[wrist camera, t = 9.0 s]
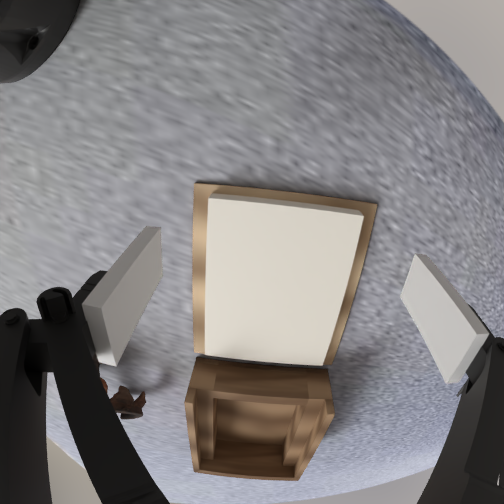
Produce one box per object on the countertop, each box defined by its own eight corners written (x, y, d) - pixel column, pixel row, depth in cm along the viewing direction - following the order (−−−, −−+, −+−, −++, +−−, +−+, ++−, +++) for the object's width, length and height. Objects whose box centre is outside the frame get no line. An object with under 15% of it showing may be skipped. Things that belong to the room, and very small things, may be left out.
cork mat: (194, 182, 24) (194, 183, 24) (376, 203, 24) (377, 204, 24) (194, 350, 32) (194, 352, 32) (331, 362, 32) (331, 364, 32)
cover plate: (211, 193, 24) (208, 198, 23) (358, 210, 24) (363, 216, 23) (207, 345, 31) (204, 354, 30) (320, 355, 31) (322, 365, 30)
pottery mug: (135, 340, 33) (139, 409, 28) (151, 365, 40) (155, 420, 36) (47, 342, 31) (44, 406, 26) (75, 366, 38) (76, 419, 33)
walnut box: (196, 357, 33) (184, 402, 27) (327, 368, 32) (334, 414, 27) (200, 436, 40) (194, 471, 34) (297, 445, 40) (298, 480, 34)
